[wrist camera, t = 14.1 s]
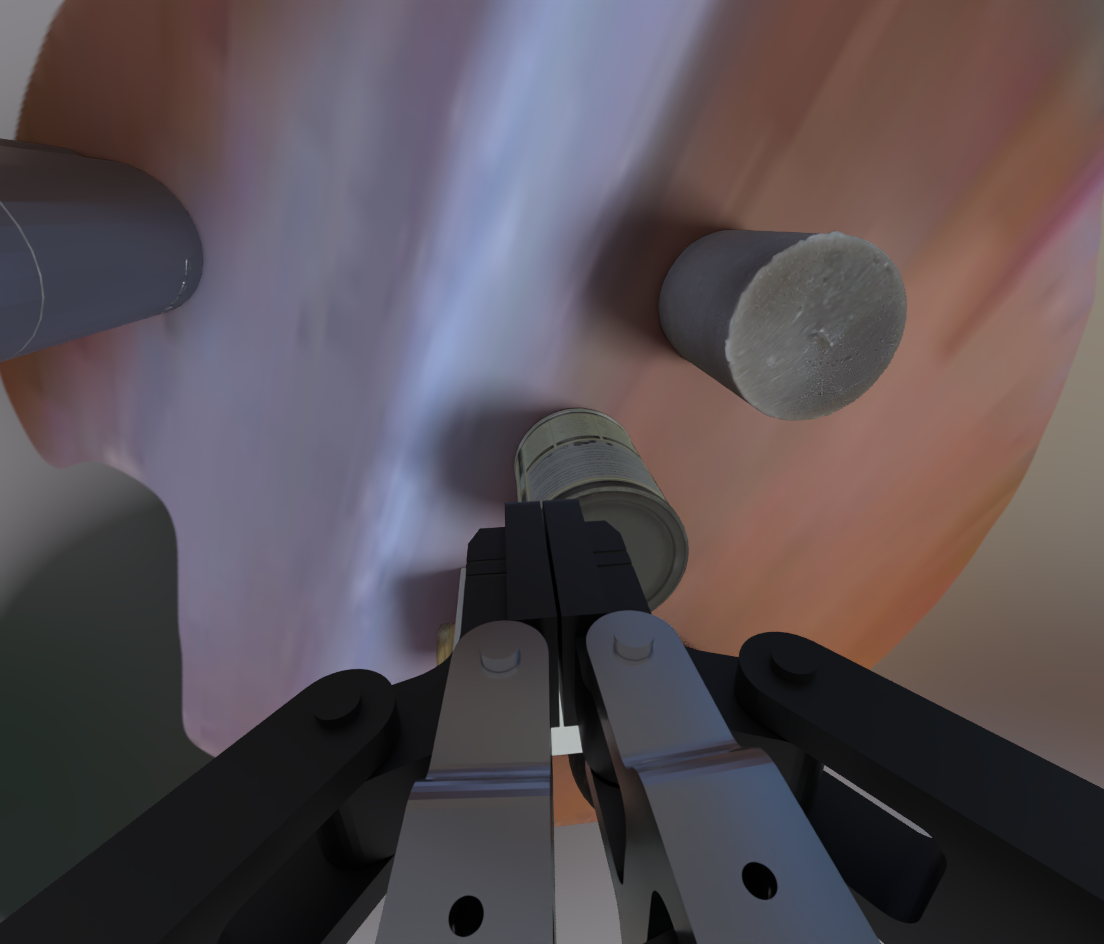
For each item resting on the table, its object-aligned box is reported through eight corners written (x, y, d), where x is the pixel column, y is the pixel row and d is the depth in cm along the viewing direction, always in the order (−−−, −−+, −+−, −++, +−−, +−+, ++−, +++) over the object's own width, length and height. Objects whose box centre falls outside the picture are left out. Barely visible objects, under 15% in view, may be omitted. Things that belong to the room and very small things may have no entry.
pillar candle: (788, 342, 42) (926, 399, 29) (668, 379, 43) (748, 453, 29) (776, 209, 38) (931, 203, 24) (643, 251, 38) (723, 268, 25)
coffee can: (658, 472, 46) (719, 570, 34) (562, 538, 48) (585, 654, 36) (589, 380, 42) (629, 453, 29) (487, 456, 44) (484, 555, 31)
